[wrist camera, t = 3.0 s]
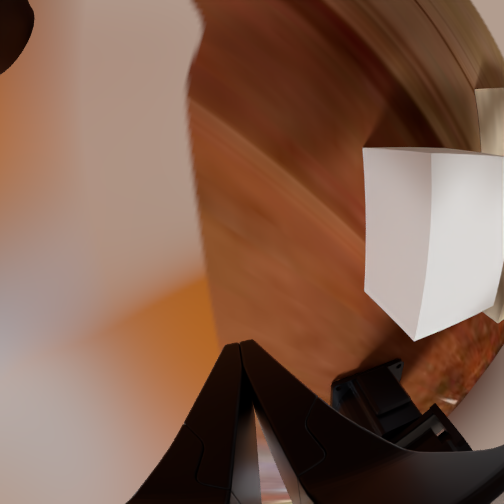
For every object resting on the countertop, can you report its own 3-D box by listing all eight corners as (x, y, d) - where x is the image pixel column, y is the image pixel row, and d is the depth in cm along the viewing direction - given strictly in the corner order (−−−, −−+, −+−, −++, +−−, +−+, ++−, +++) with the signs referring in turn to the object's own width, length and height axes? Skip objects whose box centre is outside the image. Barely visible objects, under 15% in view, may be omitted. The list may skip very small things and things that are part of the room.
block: (439, 269, 19) (493, 305, 13) (363, 290, 18) (414, 341, 13) (444, 148, 16) (512, 157, 10) (361, 147, 15) (430, 153, 9)
